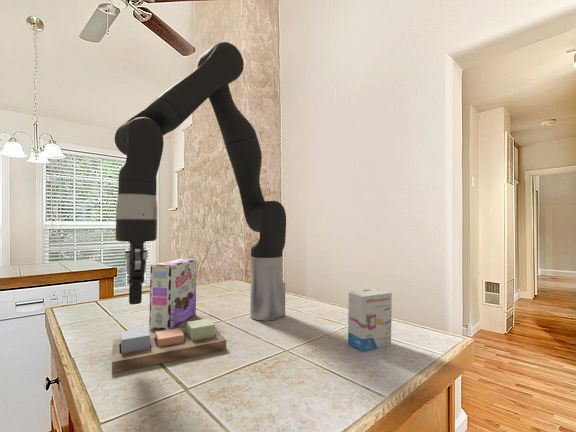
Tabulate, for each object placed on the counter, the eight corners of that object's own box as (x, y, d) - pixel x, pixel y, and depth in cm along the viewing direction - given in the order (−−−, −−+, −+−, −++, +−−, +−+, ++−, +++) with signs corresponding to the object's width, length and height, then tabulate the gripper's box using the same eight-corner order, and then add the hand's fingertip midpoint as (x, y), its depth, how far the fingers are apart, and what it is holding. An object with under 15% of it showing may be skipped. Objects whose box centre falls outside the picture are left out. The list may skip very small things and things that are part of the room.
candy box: (169, 331, 76) (170, 264, 76) (148, 329, 77) (149, 264, 77) (196, 314, 89) (197, 258, 90) (178, 313, 90) (179, 258, 91)
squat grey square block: (147, 341, 65) (147, 327, 65) (150, 350, 60) (150, 335, 61) (121, 346, 62) (121, 331, 62) (121, 355, 58) (121, 339, 58)
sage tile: (208, 331, 71) (208, 318, 71) (214, 338, 67) (214, 324, 67) (186, 335, 69) (186, 321, 69) (191, 342, 64) (191, 328, 64)
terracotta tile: (179, 341, 68) (179, 327, 68) (183, 349, 64) (184, 334, 64) (155, 345, 66) (155, 331, 66) (158, 354, 61) (158, 339, 61)
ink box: (362, 352, 63) (362, 295, 63) (347, 344, 67) (347, 290, 68) (392, 345, 67) (392, 291, 67) (376, 337, 71) (376, 287, 72)
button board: (210, 332, 75) (211, 323, 75) (226, 349, 65) (226, 340, 65) (112, 349, 65) (112, 339, 65) (111, 373, 54) (112, 362, 54)
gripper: (161, 217, 58) (159, 308, 58) (153, 218, 70) (152, 294, 69) (116, 216, 55) (113, 314, 54) (116, 218, 66) (114, 298, 65)
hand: (135, 303), depth 62 cm, fingers closed
